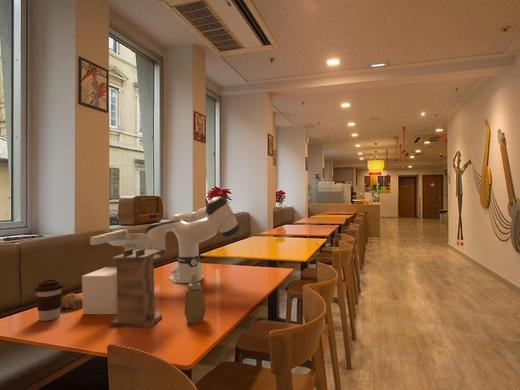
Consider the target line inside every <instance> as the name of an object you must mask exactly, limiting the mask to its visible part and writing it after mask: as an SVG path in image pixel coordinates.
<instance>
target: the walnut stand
mask: <svg viewBox="0 0 520 390" xmlns="http://www.w3.org/2000/svg"><path fill="white" fill-rule="evenodd" d="M122 252H123V253H122V254H118V255H115V256H112V261H116V267H117V308H118V313H117V317H116V318H115V319H113V320H112V321H110V322H109V325H110V326H132V327H131V328H153V327H154V326H155V325H154V324H155V323H156V322H157V323H158V322H159V321H160V320H161V319H162V318H163V315H162V313H156V312H155V277H154V276H155V273H154V270H155V268H154V265H155V264H154V260H153V256H154V255H157V254H159V253H161V252H162V250H145V249H140V250H133V249H128V250H125V249H124V250H123V251H122ZM157 323H156V324H157Z"/></svg>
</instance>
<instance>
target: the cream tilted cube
mask: <svg viewBox="0 0 520 390" xmlns="http://www.w3.org/2000/svg"><path fill="white" fill-rule="evenodd" d="M81 288H82V289H81V292H82V297H81V298H82V302H83V306H82V315H83V314H116V313H117V314H118V308H117V266H114V267H113V266H105V267H103V268H100V269H97V270H95V271H92V272H88V273H86V274H84V275H82V276H81ZM117 314H116V315H117Z"/></svg>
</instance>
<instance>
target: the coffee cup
mask: <svg viewBox="0 0 520 390" xmlns="http://www.w3.org/2000/svg"><path fill="white" fill-rule="evenodd" d="M33 288H34V292H36V296H35V298H36V308H37V312H38V313H37V314H38V320H40V321H41V322H49V321H48V320H50V321H54V320H57V319H59V318H60V316H61V311H60V307H61V300H62V298H63V292H62V289H63V288H64V283H63V282H60V281H59V279H46V280H42V281H39V283H38V284H37V285H35V286H34V287H33Z"/></svg>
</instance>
